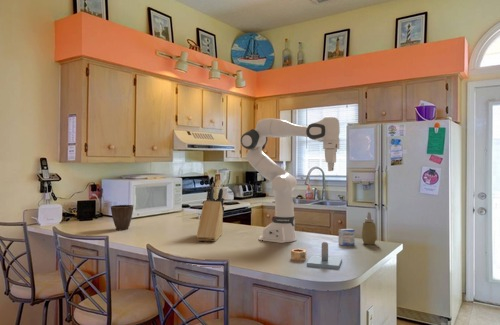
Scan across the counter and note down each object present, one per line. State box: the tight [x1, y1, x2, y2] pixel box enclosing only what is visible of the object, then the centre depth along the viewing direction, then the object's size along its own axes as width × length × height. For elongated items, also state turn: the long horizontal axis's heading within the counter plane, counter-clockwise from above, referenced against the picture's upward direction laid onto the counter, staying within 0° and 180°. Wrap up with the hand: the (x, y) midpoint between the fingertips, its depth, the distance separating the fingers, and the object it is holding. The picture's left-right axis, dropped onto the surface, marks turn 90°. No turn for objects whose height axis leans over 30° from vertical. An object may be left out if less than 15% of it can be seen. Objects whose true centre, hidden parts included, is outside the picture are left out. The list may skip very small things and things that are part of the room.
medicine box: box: [338, 228, 356, 246], centre depth 210 cm, size 8×4×9 cm, turn 105°
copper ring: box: [290, 248, 307, 262], centre depth 179 cm, size 7×7×4 cm
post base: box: [306, 241, 343, 270], centre depth 171 cm, size 14×14×10 cm
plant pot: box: [110, 204, 135, 231], centre depth 255 cm, size 15×15×16 cm
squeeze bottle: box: [361, 211, 377, 246], centre depth 212 cm, size 8×8×18 cm
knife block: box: [195, 185, 225, 242], centre depth 231 cm, size 11×35×31 cm, turn 174°
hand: (330, 170), depth 206 cm, fingers open, 8 cm apart
